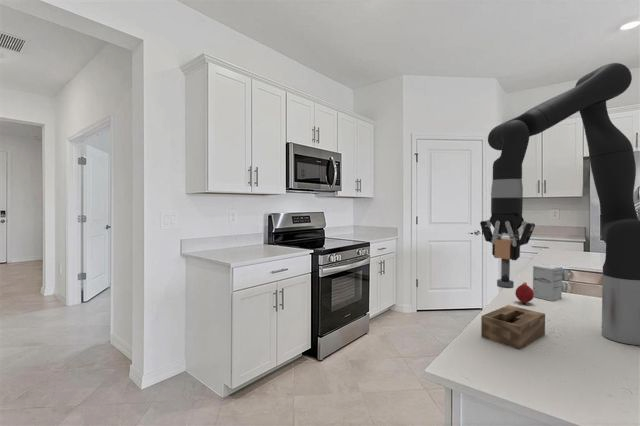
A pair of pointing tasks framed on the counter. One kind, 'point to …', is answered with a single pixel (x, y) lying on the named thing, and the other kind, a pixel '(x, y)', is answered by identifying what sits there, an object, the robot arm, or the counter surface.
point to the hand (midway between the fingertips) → (505, 258)
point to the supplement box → (547, 282)
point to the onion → (524, 293)
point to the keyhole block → (513, 326)
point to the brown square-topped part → (504, 261)
